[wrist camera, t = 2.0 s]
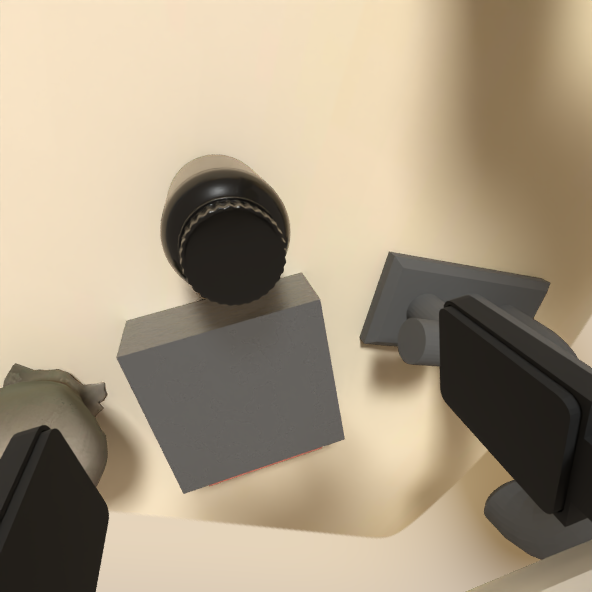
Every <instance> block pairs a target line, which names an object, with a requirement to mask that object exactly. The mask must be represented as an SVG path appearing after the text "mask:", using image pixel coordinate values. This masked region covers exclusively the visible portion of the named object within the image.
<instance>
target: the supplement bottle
mask: <svg viewBox="0 0 592 592" xmlns="http://www.w3.org/2000/svg"><path fill="white" fill-rule="evenodd" d="M161 242H162V246H163V250H164V253H165V255H166V258H167V260H168V261H169V263H170V265H171V266H172V268H173V269H174V270H175V272H176V273H177V274H178V275H179V276H180V277H181V278H182V279H183V280H185V281H186V282H187V283H189V284H190V285H192V287H193V289H194V291H196V292H198V293H200V295H201V296H202V297H204V298H208V300H210V301H211V302H217V303H218V304H220V305H223V304H227V305H229V306H232V305H242V304H244V303H251V302H252V301H254V300H259V299H260V298H261V297H262V296H263V295H266V294H267V293H268V292H269V290H271V289H273V288H274V286H275V284H276V283H277V282H278V281H279V280H280V275H281V274H282V273H283V272H284V265H285V263H286V259H285V256H286V254H287V251H288V247H289V242H290V223H289V218H288V214H287V211H286V209H285V206H284V204H283V202H282V201H281V199H280V198H279V196H278V195H277V193H276V192H275V191H274V190H273V188H272V187H271V186H270V185H269V184H267V183H266V182H265V181H264V180H263V179H262V178H261V177H260V176H259V175H258V174H256V173H255V172H254V171H253V170H252V169H251V168H250V167H248V166H247V165H246V164H244V163H243V162H241V161H239V160H237V159H235V158H232V157H229V156H225V155H206V156H202V157H199V158H196V159H194V160H192V161H190V162H189V163H187V164H186V165H185V166H183V167H182V168H181V169H180V170H179V172H178V173H177V174H176V176H175V177H174V179H173V181H172V183H171V185H170V188H169V191H168V194H167V198H166V202H165V206H164V210H163V214H162V219H161Z"/></svg>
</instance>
